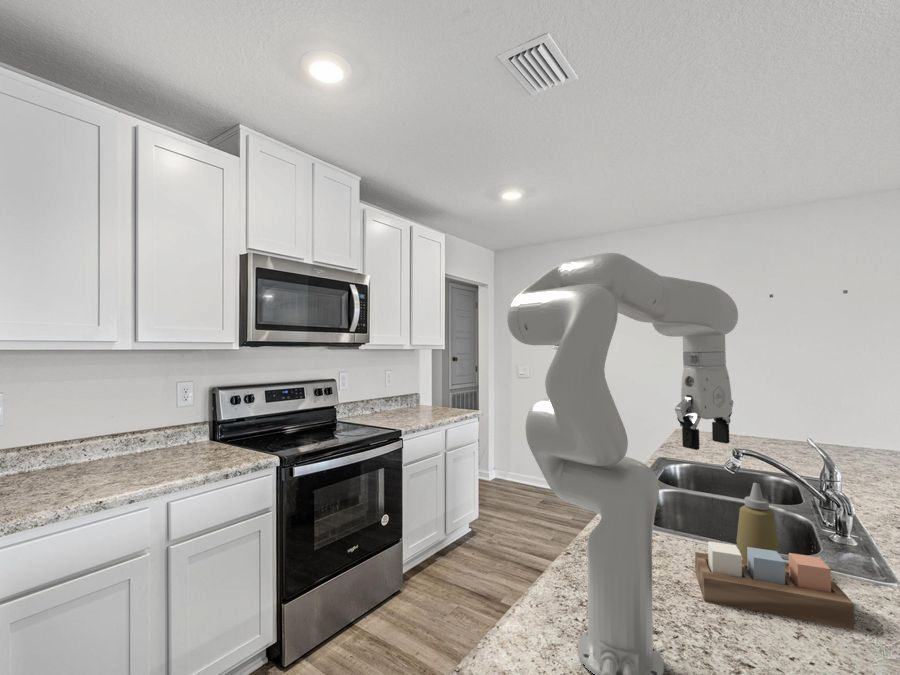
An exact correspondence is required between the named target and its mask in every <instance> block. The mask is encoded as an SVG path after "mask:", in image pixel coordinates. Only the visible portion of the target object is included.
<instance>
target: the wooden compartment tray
mask: <svg viewBox="0 0 900 675" xmlns="http://www.w3.org/2000/svg"><path fill="white" fill-rule="evenodd" d="M694 562H695V564H694V566H695V568H694V571H695V576H696V578H697V583H698V586H699V588H700V592H701V595H702V598H703V602H706V603H710V604H711V603H712V604H715V605H721V606H722V605H723V606H728V607H732V608H738V609H743V610H748V611H752V612H753V611H754V612H757V613H758V612H759V613H765V614H771V615H775V616H780V617H786V618H791V619H795V620H796V619H797V620H799V621H801V620H802V621H806V622H810V623H811V622H812V623H816V624H817V623H818V624H822V625H823V624H824V625H827V626H832V627H838V628H843V629H849V630H854V631H855V603H854V602H853V600H851V598H850V597H848V595H847V594H846V593H845V592H844V590H842V588H840V586H839V585H838V584H837V583H836V582H835V581H834V579H833V578H831V592H826V591H820V590H814V589H808V588H802V587H796V586H795V585H794V583H793V582H792V581H791V579H790V578H789V565H785V585H784V584H778V583H772V582H767V581H761V580H755V579H751V577H750V575H749V573H748V568H747V560H745V559H742V577H737V576H731V575H725V574H719V573H713V572H710V570H709V567H708V553H705V552H698V551H695V552H694Z"/></svg>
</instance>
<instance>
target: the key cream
mask: <svg viewBox="0 0 900 675" xmlns="http://www.w3.org/2000/svg"><path fill="white" fill-rule="evenodd" d="M707 554H708V567H709V570H710V572H713V573H719V574H725V575H731V576H737V577H742V555H741V553H740V551H739V548H738V545H735V544H730V543H725V542H724V543H721V542H717V541H707Z"/></svg>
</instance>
